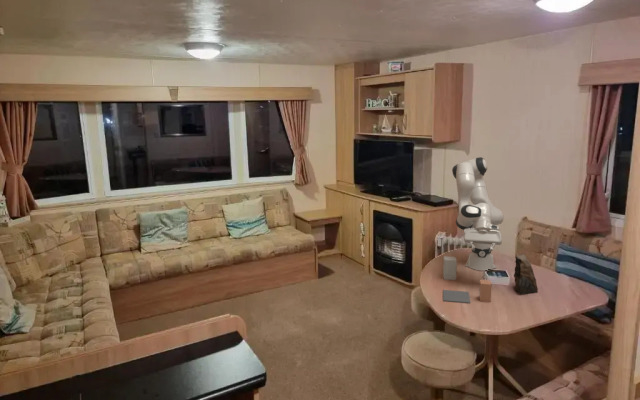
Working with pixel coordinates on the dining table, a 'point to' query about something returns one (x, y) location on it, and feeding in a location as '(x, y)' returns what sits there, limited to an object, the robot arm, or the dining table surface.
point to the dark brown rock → (524, 276)
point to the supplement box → (449, 268)
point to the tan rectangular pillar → (485, 290)
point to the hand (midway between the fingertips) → (482, 249)
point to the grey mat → (456, 296)
